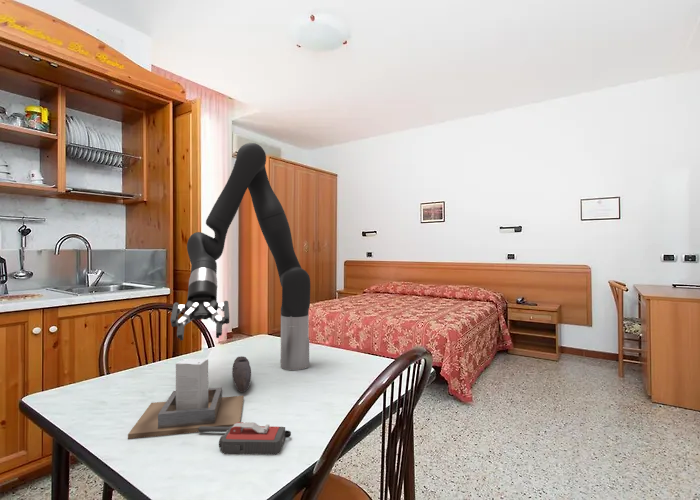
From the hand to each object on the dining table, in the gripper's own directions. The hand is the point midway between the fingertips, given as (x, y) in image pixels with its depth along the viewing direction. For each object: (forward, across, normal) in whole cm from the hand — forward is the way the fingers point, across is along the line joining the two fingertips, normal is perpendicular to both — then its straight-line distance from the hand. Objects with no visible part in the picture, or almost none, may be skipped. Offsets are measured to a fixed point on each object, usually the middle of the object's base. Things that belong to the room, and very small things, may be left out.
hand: (199, 337), depth 94 cm
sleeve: (+17, -1, +7) cm, 18 cm away
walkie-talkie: (+28, +9, -4) cm, 30 cm away
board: (+17, -1, +7) cm, 18 cm away
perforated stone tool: (+5, +10, +19) cm, 22 cm away
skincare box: (+16, -1, +6) cm, 17 cm away
